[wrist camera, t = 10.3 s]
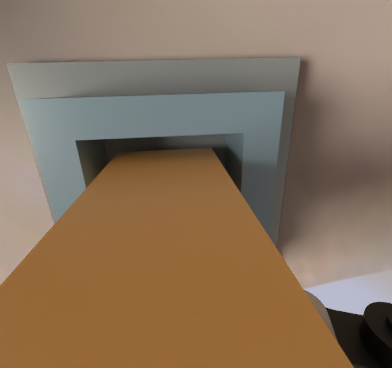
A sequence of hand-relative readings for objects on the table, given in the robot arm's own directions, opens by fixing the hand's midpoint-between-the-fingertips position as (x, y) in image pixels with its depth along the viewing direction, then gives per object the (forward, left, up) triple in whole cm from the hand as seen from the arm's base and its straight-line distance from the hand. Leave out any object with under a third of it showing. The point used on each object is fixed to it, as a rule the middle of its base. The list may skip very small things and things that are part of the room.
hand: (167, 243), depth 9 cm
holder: (0, 0, -6) cm, 6 cm away
